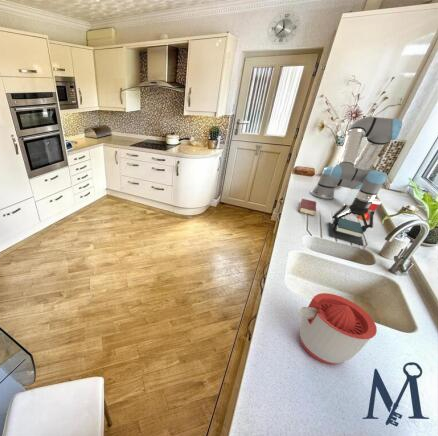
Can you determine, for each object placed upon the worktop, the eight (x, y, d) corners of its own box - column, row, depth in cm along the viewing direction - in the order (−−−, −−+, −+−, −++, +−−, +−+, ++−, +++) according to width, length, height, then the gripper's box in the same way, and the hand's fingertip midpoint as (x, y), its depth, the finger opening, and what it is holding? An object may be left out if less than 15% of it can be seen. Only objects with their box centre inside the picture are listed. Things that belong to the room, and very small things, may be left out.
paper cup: (368, 217, 159) (379, 198, 152) (372, 222, 153) (383, 203, 146) (354, 214, 162) (364, 196, 154) (357, 219, 155) (368, 200, 148)
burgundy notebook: (300, 203, 174) (302, 198, 172) (314, 206, 170) (316, 201, 168) (298, 211, 162) (300, 206, 160) (313, 215, 158) (315, 210, 155)
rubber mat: (328, 223, 150) (328, 222, 149) (359, 231, 142) (359, 230, 142) (329, 235, 136) (329, 235, 136) (363, 245, 129) (363, 245, 129)
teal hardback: (335, 221, 146) (337, 217, 144) (357, 227, 140) (360, 222, 139) (335, 231, 135) (338, 226, 134) (360, 238, 130) (363, 233, 129)
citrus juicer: (285, 317, 86) (305, 278, 76) (340, 335, 81) (370, 296, 71) (289, 357, 74) (315, 316, 64) (355, 381, 68) (394, 340, 58)
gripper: (338, 196, 131) (321, 228, 142) (394, 208, 120) (371, 242, 131) (337, 191, 136) (321, 223, 147) (390, 203, 125) (369, 236, 136)
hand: (345, 232), depth 139 cm, fingers closed on teal hardback, 11 cm apart
